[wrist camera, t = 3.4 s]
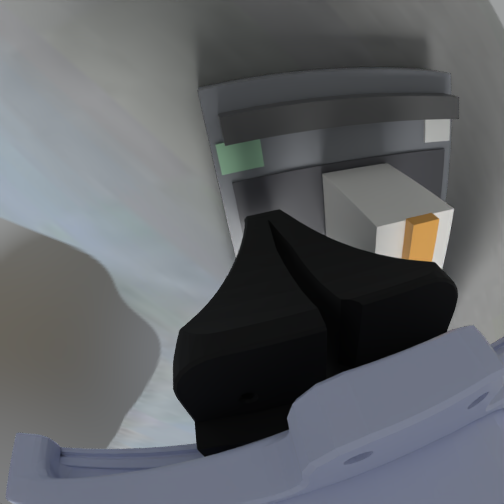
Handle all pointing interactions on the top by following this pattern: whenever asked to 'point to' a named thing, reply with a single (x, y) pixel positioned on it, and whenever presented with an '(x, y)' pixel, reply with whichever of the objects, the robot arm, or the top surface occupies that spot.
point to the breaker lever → (386, 213)
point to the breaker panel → (323, 135)
